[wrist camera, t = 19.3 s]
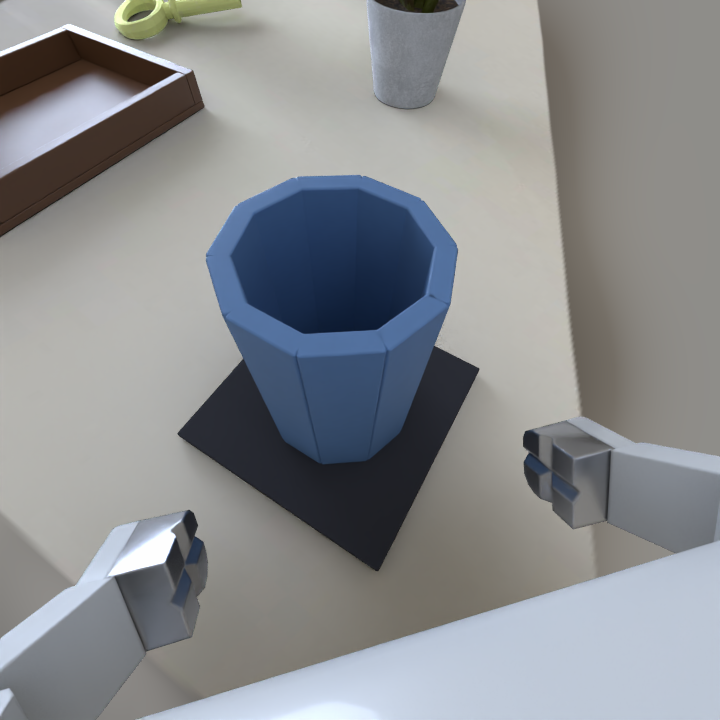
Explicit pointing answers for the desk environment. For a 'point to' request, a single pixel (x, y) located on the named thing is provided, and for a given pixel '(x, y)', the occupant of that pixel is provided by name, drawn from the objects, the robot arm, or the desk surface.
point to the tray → (79, 113)
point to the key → (163, 14)
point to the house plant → (410, 47)
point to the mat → (340, 480)
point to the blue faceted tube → (334, 306)
